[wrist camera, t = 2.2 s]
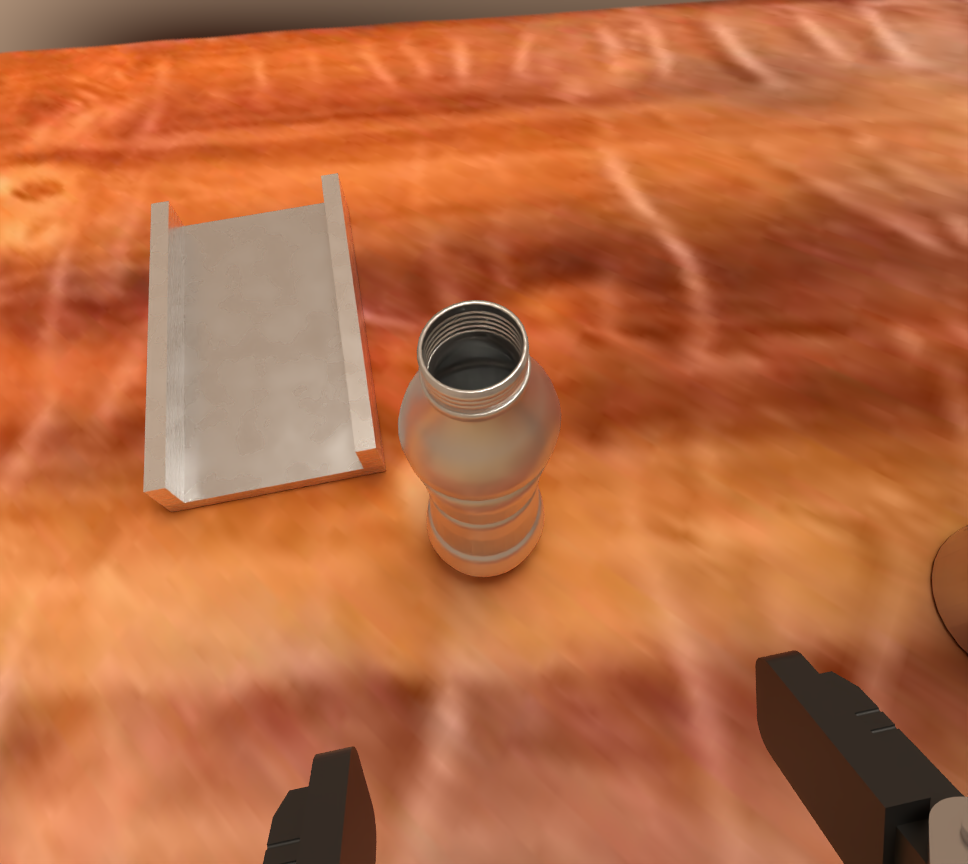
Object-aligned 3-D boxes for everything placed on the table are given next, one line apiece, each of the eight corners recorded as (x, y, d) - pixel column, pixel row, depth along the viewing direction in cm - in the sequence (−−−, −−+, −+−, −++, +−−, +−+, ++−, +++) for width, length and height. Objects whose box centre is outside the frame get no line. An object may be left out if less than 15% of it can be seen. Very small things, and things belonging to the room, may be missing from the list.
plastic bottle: (408, 533, 40) (327, 352, 22) (488, 457, 42) (475, 233, 24) (485, 610, 38) (467, 480, 20) (565, 527, 40) (616, 339, 21)
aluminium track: (385, 471, 41) (376, 447, 38) (171, 512, 41) (143, 492, 37) (348, 209, 51) (337, 173, 48) (173, 238, 50) (151, 204, 47)
